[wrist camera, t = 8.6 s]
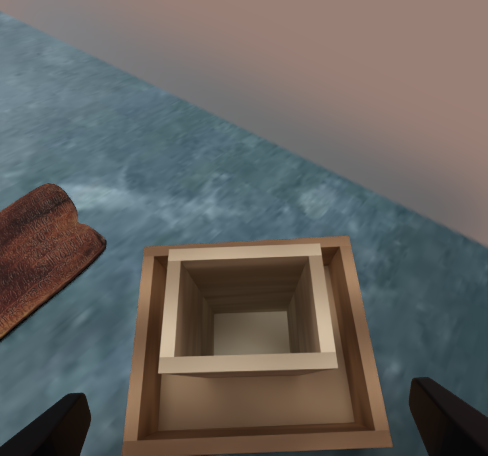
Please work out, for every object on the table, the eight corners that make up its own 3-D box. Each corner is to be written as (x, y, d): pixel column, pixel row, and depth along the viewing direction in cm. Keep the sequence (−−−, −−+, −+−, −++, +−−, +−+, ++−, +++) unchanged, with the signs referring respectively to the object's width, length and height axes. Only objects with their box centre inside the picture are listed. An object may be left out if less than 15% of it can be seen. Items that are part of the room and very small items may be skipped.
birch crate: (299, 375, 20) (338, 368, 10) (206, 378, 20) (157, 373, 10) (292, 305, 22) (320, 243, 12) (208, 308, 22) (169, 249, 13)
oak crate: (364, 433, 19) (392, 447, 15) (149, 442, 20) (121, 458, 16) (333, 260, 24) (348, 235, 20) (163, 269, 25) (144, 246, 21)
